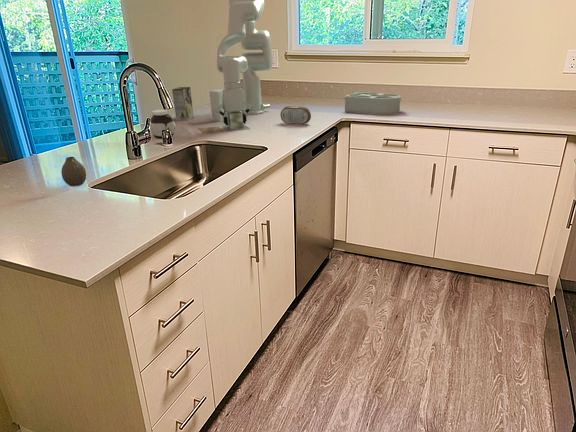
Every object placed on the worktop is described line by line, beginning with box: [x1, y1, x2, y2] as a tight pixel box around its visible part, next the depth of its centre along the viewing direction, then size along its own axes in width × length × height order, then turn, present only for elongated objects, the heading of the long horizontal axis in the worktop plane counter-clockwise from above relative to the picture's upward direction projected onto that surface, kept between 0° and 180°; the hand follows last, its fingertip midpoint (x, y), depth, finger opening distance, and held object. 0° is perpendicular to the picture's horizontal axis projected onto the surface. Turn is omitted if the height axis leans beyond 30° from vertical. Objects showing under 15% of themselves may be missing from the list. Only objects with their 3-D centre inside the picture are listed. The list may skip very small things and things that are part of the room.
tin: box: [280, 105, 312, 126], centre depth 212 cm, size 15×3×8 cm, turn 71°
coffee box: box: [172, 86, 195, 122], centre depth 230 cm, size 9×6×16 cm
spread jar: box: [149, 109, 177, 140], centre depth 196 cm, size 12×11×12 cm
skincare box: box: [209, 88, 227, 122], centre depth 223 cm, size 8×7×16 cm
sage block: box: [227, 111, 244, 129], centre depth 206 cm, size 6×6×7 cm
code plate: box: [221, 123, 251, 132], centre depth 208 cm, size 11×14×1 cm
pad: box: [197, 126, 225, 134], centre depth 204 cm, size 10×12×1 cm
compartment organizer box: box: [344, 91, 402, 116], centre depth 236 cm, size 17×28×9 cm, turn 57°
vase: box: [61, 156, 87, 187], centre depth 137 cm, size 7×7×9 cm
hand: (235, 123), depth 207 cm, fingers open, 8 cm apart
